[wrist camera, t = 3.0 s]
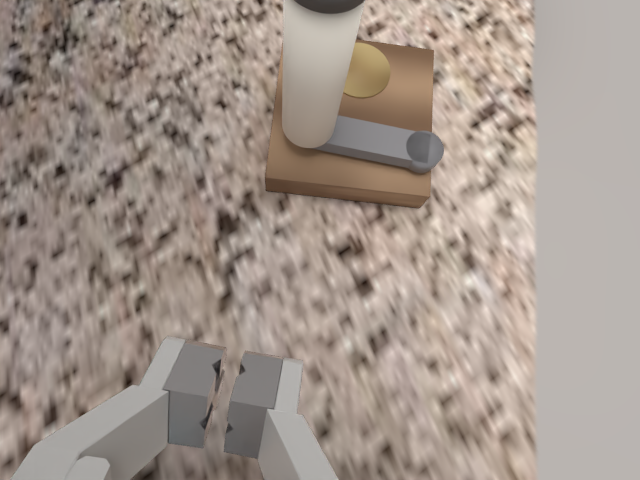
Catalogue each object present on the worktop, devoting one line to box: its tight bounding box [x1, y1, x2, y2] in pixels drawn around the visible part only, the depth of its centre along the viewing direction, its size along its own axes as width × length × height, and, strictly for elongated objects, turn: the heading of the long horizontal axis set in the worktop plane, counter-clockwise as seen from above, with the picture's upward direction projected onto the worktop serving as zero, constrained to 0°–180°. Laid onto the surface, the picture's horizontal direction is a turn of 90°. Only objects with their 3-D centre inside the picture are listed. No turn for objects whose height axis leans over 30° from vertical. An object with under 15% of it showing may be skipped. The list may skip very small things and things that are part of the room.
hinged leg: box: [282, 0, 444, 173], centre depth 24 cm, size 11×4×14 cm, turn 80°
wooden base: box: [265, 39, 434, 208], centre depth 33 cm, size 12×12×3 cm
